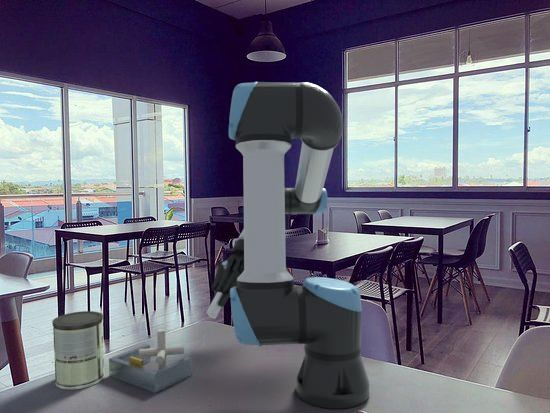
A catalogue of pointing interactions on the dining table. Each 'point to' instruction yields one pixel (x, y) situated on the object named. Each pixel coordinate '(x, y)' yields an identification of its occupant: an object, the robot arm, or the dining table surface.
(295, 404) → the dining table surface
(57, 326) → the coffee can
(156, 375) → the jig
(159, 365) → the pipe connector
